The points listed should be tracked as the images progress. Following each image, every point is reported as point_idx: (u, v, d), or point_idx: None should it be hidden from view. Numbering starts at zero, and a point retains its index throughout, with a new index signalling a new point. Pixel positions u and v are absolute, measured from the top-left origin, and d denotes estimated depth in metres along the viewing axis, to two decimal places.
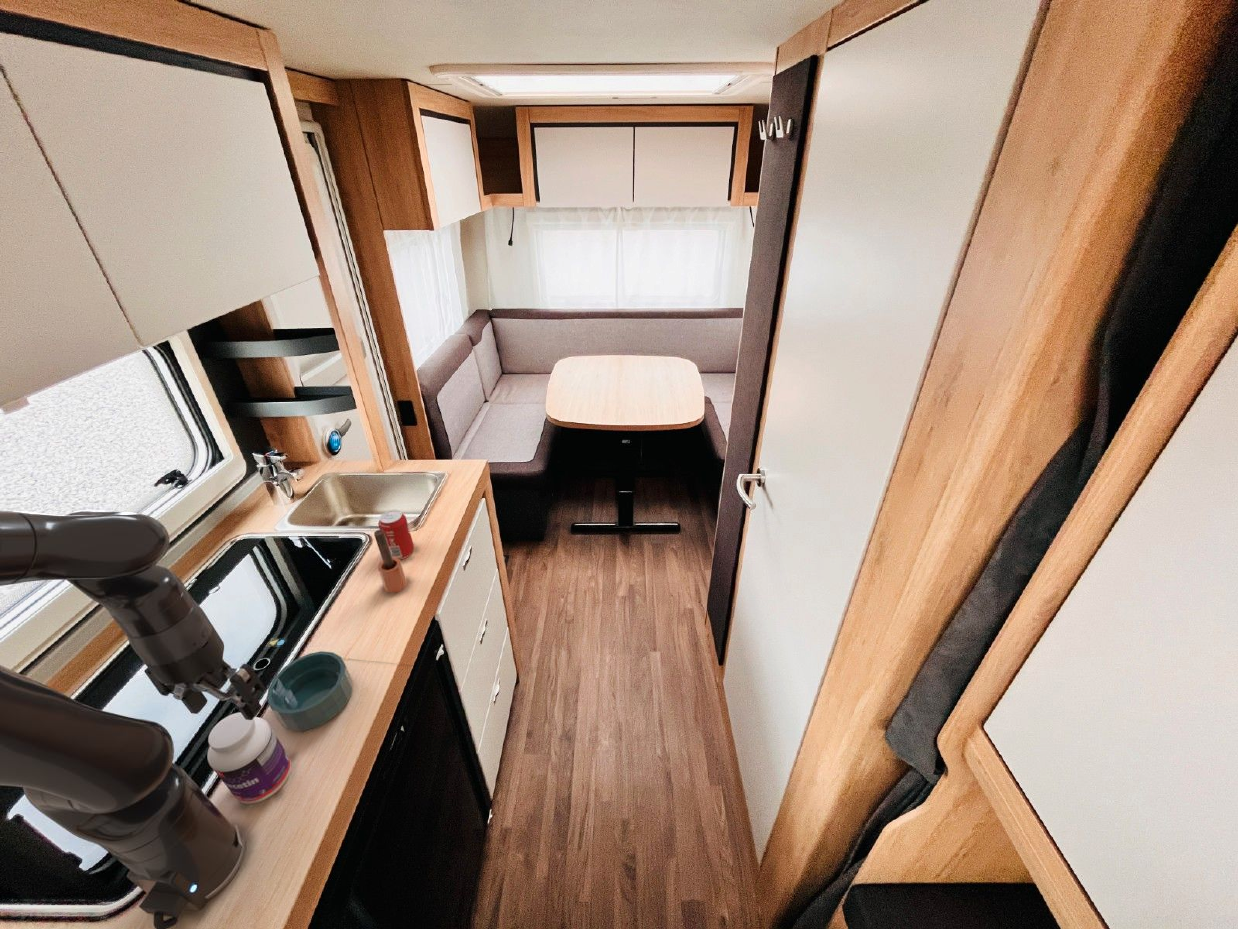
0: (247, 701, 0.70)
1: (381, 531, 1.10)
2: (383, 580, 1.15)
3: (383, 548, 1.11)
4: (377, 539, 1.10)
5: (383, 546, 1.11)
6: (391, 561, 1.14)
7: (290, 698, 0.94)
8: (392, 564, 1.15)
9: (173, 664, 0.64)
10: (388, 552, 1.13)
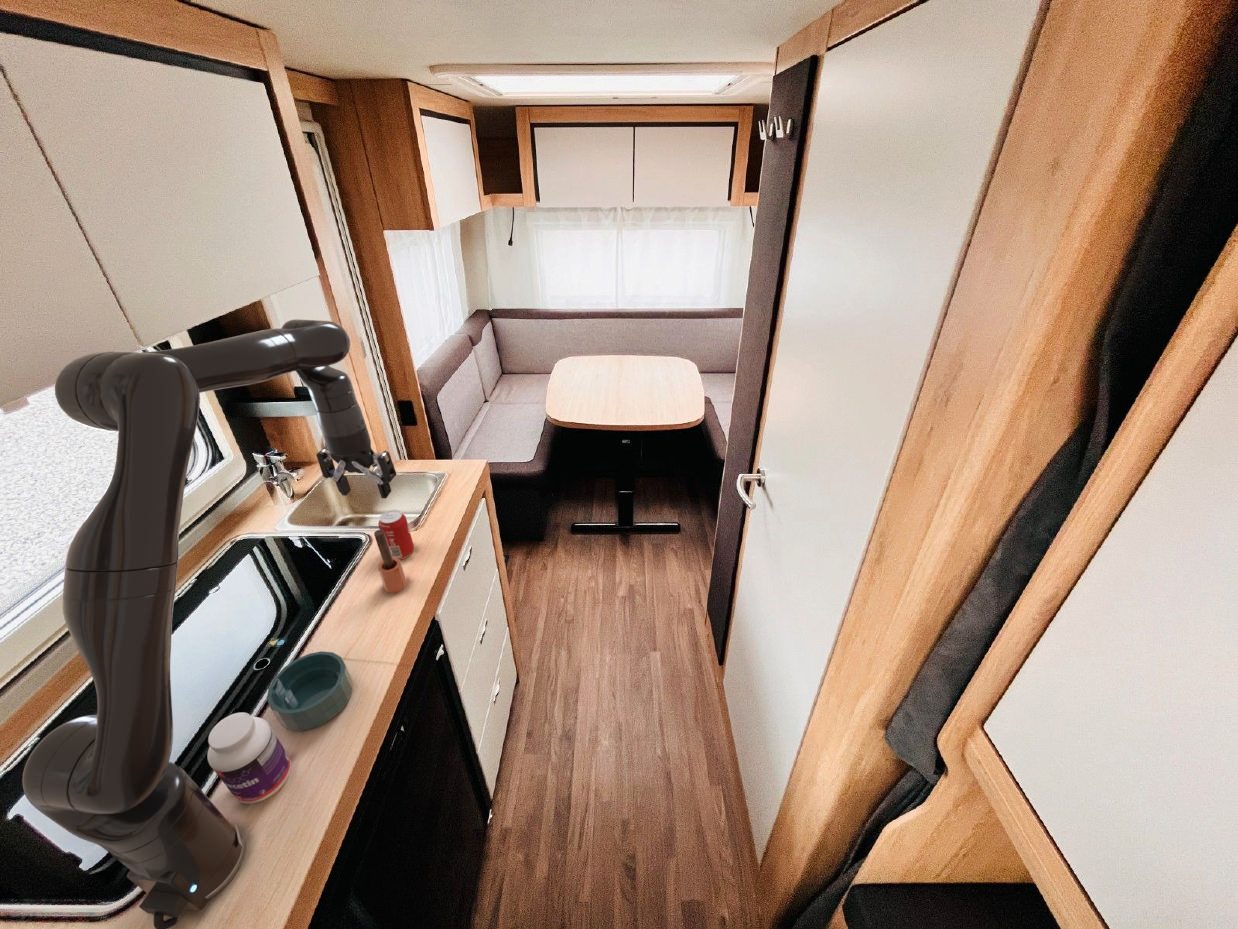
0: (386, 478, 1.00)
1: (381, 531, 1.10)
2: (383, 580, 1.15)
3: (383, 548, 1.11)
4: (377, 539, 1.10)
5: (383, 546, 1.11)
6: (391, 561, 1.14)
7: (290, 698, 0.94)
8: (392, 564, 1.15)
9: (345, 438, 0.93)
10: (388, 552, 1.13)
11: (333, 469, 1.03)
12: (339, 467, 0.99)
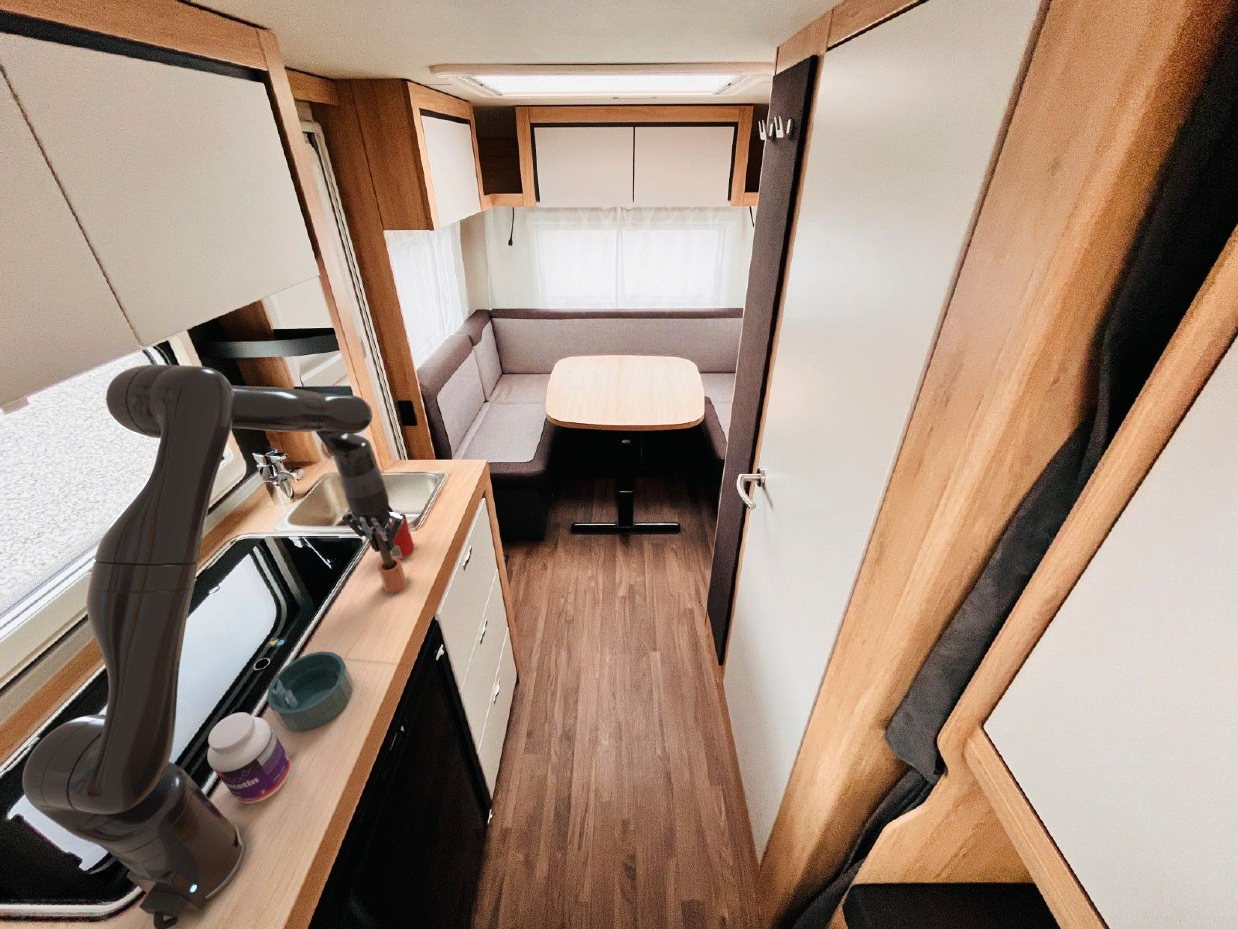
0: (392, 535, 1.08)
1: None
2: (383, 580, 1.15)
3: (383, 548, 1.11)
4: (377, 539, 1.10)
5: (383, 546, 1.11)
6: (391, 561, 1.14)
7: (290, 698, 0.94)
8: (392, 564, 1.15)
9: (366, 498, 1.01)
10: None
11: None
12: (363, 524, 1.07)
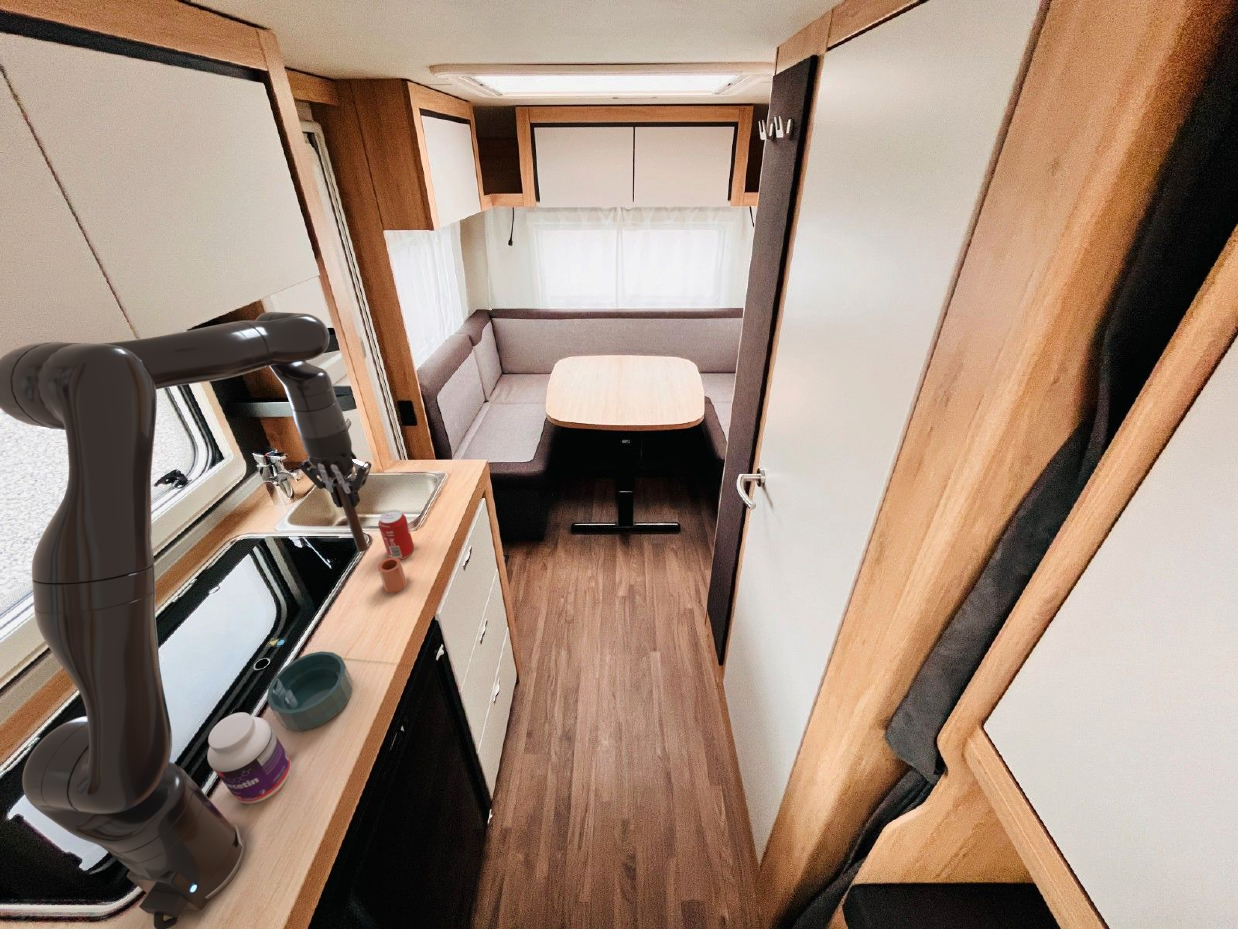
0: (355, 487, 0.95)
1: None
2: (383, 580, 1.15)
3: (346, 502, 0.98)
4: (339, 492, 0.96)
5: None
6: (356, 519, 1.00)
7: (290, 698, 0.94)
8: (358, 523, 1.01)
9: (323, 439, 0.88)
10: None
11: None
12: (322, 473, 0.93)
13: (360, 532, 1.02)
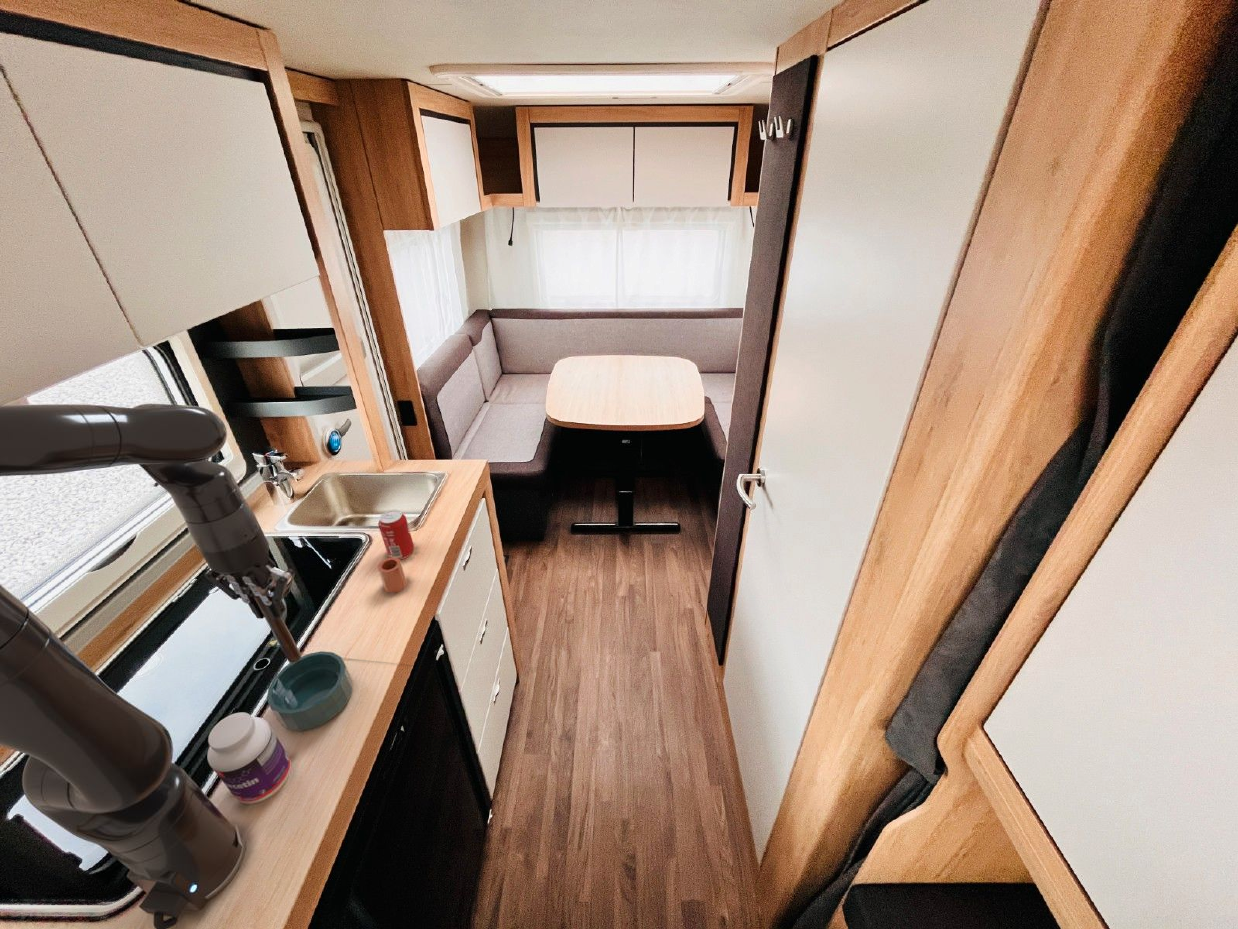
0: (276, 599, 0.78)
1: None
2: (383, 580, 1.15)
3: (267, 613, 0.81)
4: (258, 602, 0.79)
5: None
6: (283, 629, 0.84)
7: (290, 698, 0.94)
8: (285, 633, 0.84)
9: (227, 552, 0.70)
10: None
11: None
12: (234, 585, 0.76)
13: (290, 642, 0.85)
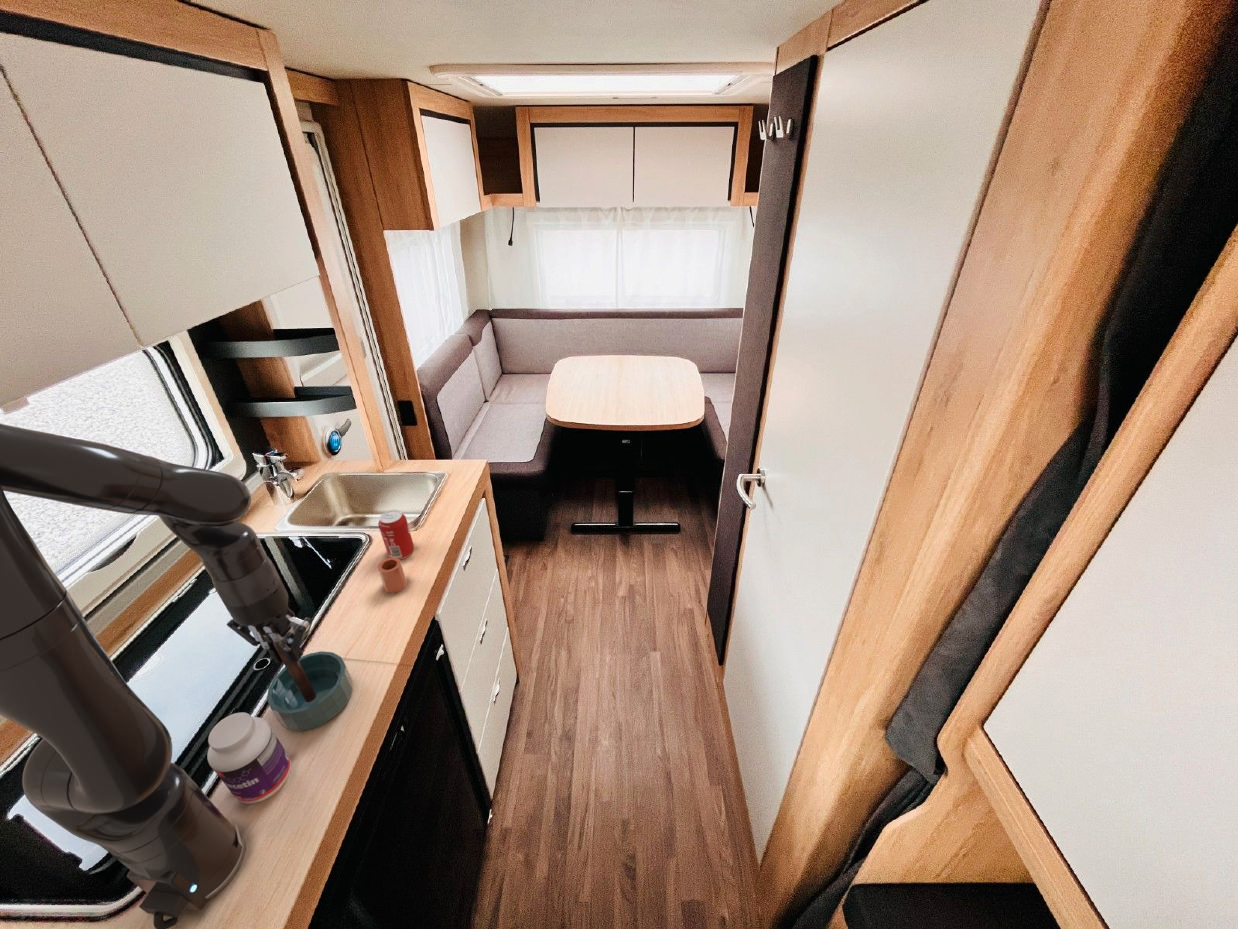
0: (294, 646, 0.82)
1: None
2: (383, 580, 1.15)
3: (286, 658, 0.85)
4: (277, 648, 0.83)
5: None
6: (300, 672, 0.88)
7: (290, 698, 0.94)
8: (302, 675, 0.88)
9: (250, 606, 0.75)
10: None
11: None
12: (255, 633, 0.80)
13: (306, 684, 0.89)
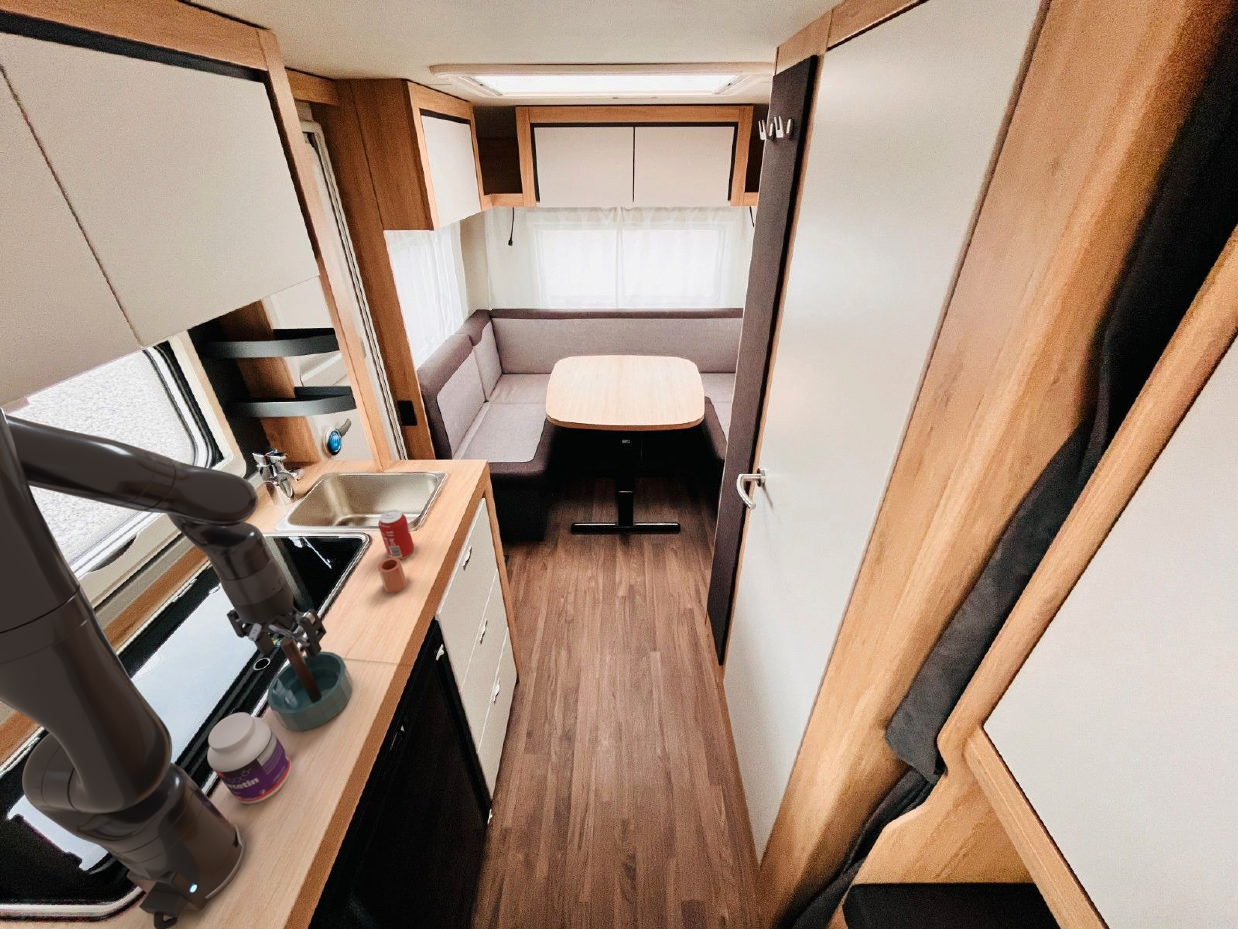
0: (313, 641, 0.83)
1: None
2: (383, 580, 1.15)
3: (293, 659, 0.87)
4: (284, 650, 0.86)
5: (294, 657, 0.87)
6: (306, 672, 0.90)
7: (290, 698, 0.94)
8: (308, 675, 0.90)
9: (256, 605, 0.76)
10: (301, 662, 0.88)
11: (251, 625, 0.85)
12: (254, 629, 0.82)
13: (312, 684, 0.92)
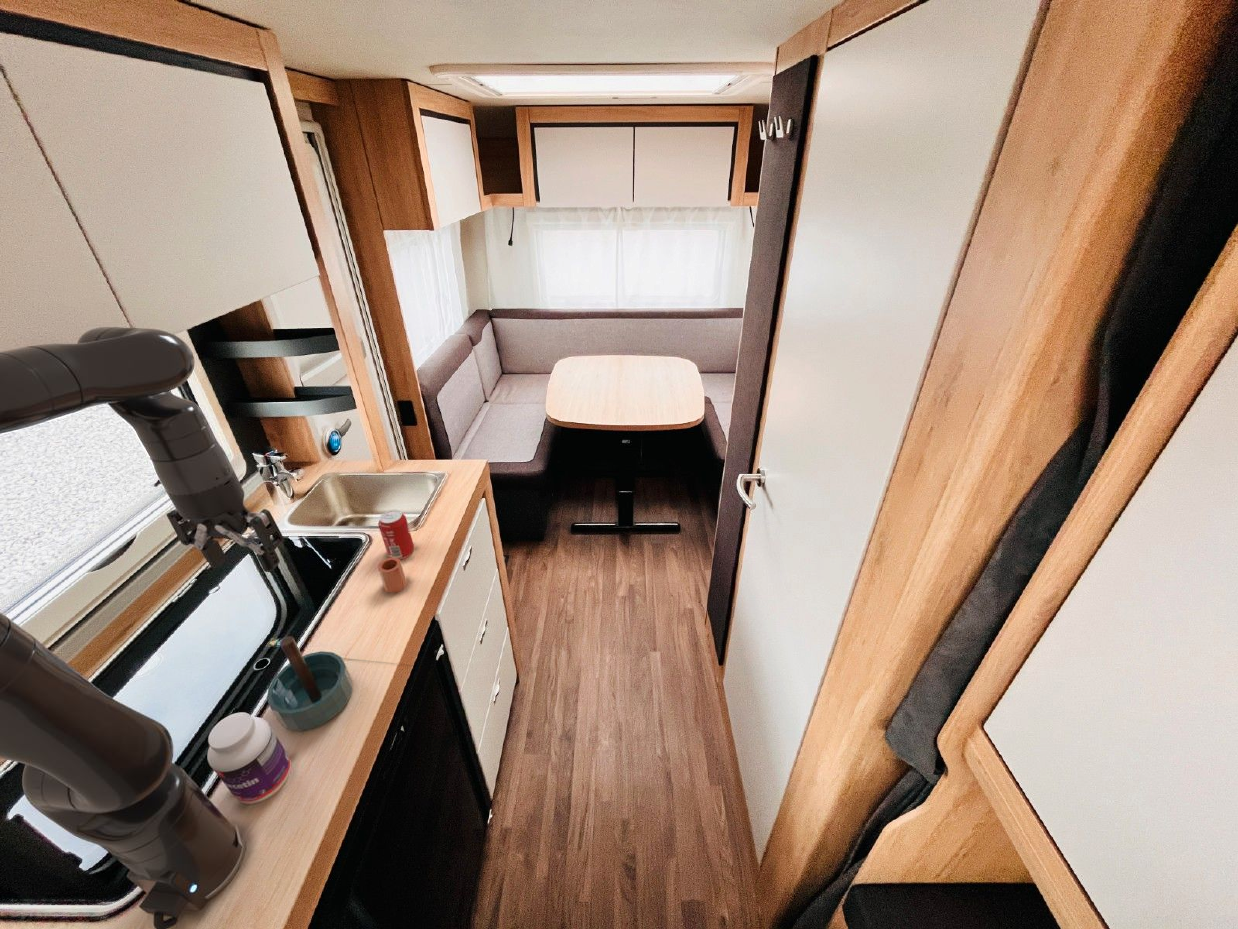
0: (267, 547, 0.72)
1: (290, 639, 0.86)
2: (383, 580, 1.15)
3: (293, 659, 0.87)
4: (284, 650, 0.86)
5: (294, 657, 0.87)
6: (306, 672, 0.90)
7: (290, 698, 0.94)
8: (308, 675, 0.90)
9: (196, 495, 0.65)
10: (301, 662, 0.88)
11: None
12: (199, 532, 0.71)
13: (312, 684, 0.92)
